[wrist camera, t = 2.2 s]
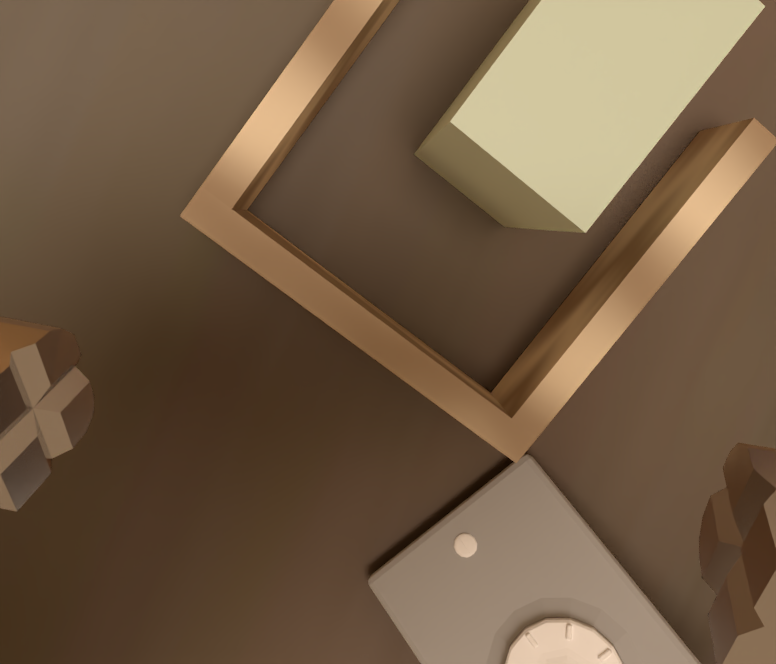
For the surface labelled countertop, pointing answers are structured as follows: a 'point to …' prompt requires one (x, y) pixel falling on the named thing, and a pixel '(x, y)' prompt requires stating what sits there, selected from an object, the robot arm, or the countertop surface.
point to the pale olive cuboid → (577, 103)
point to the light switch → (520, 585)
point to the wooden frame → (392, 341)
